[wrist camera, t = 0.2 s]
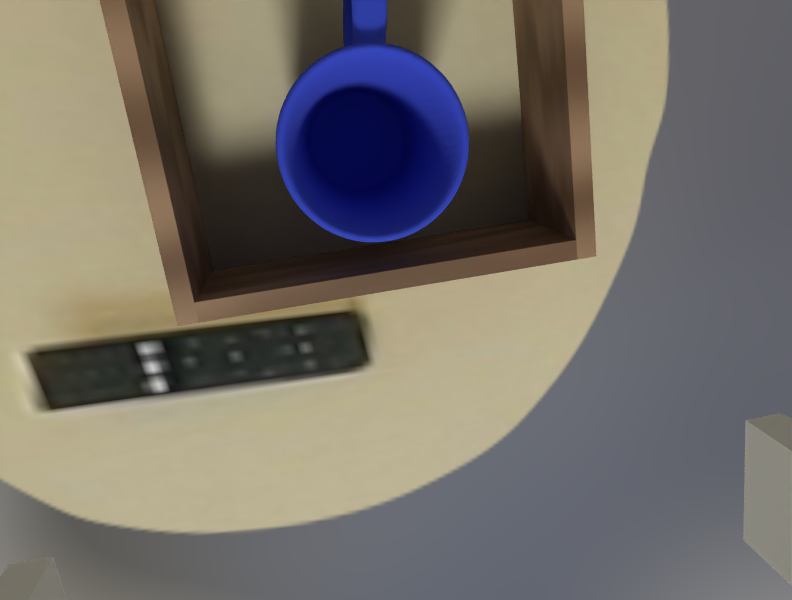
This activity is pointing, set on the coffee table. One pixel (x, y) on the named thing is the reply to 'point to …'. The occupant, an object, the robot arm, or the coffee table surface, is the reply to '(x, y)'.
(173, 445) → the coffee table surface
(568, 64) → the u-shaped wooden frame
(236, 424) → the coffee table surface
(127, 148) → the coffee table surface
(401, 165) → the mug
